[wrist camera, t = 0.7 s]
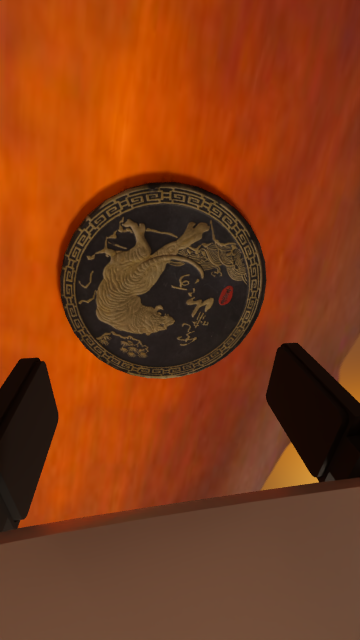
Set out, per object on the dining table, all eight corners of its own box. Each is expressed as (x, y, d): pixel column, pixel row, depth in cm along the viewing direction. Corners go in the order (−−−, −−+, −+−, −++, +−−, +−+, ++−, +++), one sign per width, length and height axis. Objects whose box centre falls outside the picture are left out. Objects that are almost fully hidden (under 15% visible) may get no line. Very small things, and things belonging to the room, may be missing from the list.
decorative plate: (307, 247, 37) (207, 398, 47) (299, 244, 39) (205, 391, 49) (102, 126, 27) (33, 349, 38) (104, 130, 29) (37, 342, 39)
